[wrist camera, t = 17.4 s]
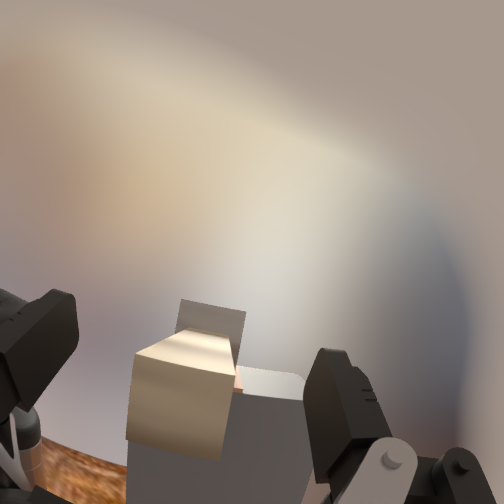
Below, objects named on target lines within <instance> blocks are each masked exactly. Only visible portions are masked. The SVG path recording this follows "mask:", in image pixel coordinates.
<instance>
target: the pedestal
mask: <svg viewBox="0 0 504 504" xmlns="http://www.w3.org/2000/svg"><path fill="white" fill-rule="evenodd" d="M235 374H236V377H235V382H234V387H233V393H232V398H231V404H230V409H229V414H228V420H227V425H226V430H225V435H224V441H223V446H222V451H221V457H220V461H215V460H209V459H203V458H198V457H192V456H187V455H182V454H178V453H173V452H169V451H165V450H161V449H157V448H153V447H149V446H146V445H142V444H139V443H135V442H132V441H129V440H128V457H127V482H126V504H301V502H302V499H303V496H304V493H305V490H306V488H307V485H308V481H309V478H310V475H311V472H312V469H313V460H312V454H311V447H310V441H309V435H308V428H307V422H306V416H305V410H304V404H303V390H304V386H305V383H306V381H304V380H303V379H302V378H301V377H300V376H298V375H297V374H294V373H286V372H277V371H270V370H263V369H256V368H250V367H243V366H238V365H236V370H235Z"/></svg>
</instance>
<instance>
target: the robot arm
mask: <svg viewBox="0 0 504 504" xmlns="http://www.w3.org/2000/svg"><path fill="white" fill-rule="evenodd" d="M78 340H79V329H78V321H77V312H76V302H75V298H74V296H73V295H72V294H69V293H66V292H63V291H60V290H57V289H52V290H50V291H49V292H48V293H46V294H45V295H44V296H43V297H41V298H40V299H37V300H35V301H32V302H30V303H29V302H27V301H25V300H23V299H21V298H19V297H17V296H15V295H13V294H11V293H9V292H7V291H5V290H3V289H0V504H73V503H71V502H68V501H66V500H64V499H62V498H60V497H58V496H56V495H54V494H52V493H50V492H49V491H47V486H46V479H45V472H44V465H43V456H42V444H41V430H40V420H39V417H38V414H37V412H36V410H35V409H34V407H33V405H34V404H35V403H36V401H37V400H38V398H39V397H40V396H41V394H42V393H43V391H44V390H45V389H46V387H47V386H48V385H49V383H50V382H51V381H52V379H53V378H54V377H55V375H56V374H57V373H58V371H59V370H60V368H61V367H62V366H63V365H64V363H65V362H66V361H67V360H68V358H69V357H70V356H71V355H72V353H73V352H74V351H75V349H76V347H77V344H78ZM303 404H304V410H305V416H306V422H307V428H308V435H309V441H310V447H311V454H312V460H313V467H314V473H315V480H316V484H319V483H320V484H322V483H329V484H330V489H331V491H330V492H329V493H328V494H327V495H326V497H325V498H324V500H323V501H322V502H321V504H496V501H495V499H494V496H493V494H492V491H491V489H490V486H489V484H488V482H487V480H486V477H485V475H484V473H483V471H482V468H481V466H480V464H479V462H478V460H477V458H476V457H475V456H474V455H473V454H472V453H471V452H470V451H468V450H466V449H464V448H459V447H457V448H452V449H450V450H448V451H447V452H446V453H445V454H444V455H443V456H442V457H441V458H440V459H435V458H427V457H419V456H416V453H415V452H414V450H413V449H412V448H411V447H410V446H409V445H408V444H407V443H406V442H404V441H402V440H400V439H397V438H393V437H392V434H391V432H390V429H389V427H388V424H387V422H386V419H385V417H384V415H383V412H382V410H381V407H380V405H379V403H378V402H377V398H376V396H375V393H374V392H373V389H372V386H371V384H370V382H369V379H368V378H367V376H366V375H365V374H364V373H363V372H362V371H361V370H360V369H359V368H358V367H352V365H351V363H350V360H349V358H348V355H347V353H346V352H345V351H344V350H336V349H327V348H321V349H320V350H319V352H318V354H317V356H316V359H315V361H314V364H313V366H312V368H311V371H310V374H309V376H308V378H307V380H306V383H305V386H304V390H303Z"/></svg>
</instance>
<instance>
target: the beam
mask: <svg viewBox="0 0 504 504" xmlns="http://www.w3.org/2000/svg"><path fill="white" fill-rule="evenodd" d="M245 315H246V312H245V311H239V310H234V309H228V308H223V307H218V306H213V305H208V304H203V303H198V302H193V301H189V300H184V299H181V303H180V308H179V313H178V319H177V324H176V330H175V335H173V336H171V337H169V338H167V339H164V340H163V341H160V342H159V343H156V344H154V345H152V346H150V347H148V348H146V349H143V350H141V351H139V352H137V353H135V357H134V364H133V371H132V380H131V387H130V397H129V406H128V416H127V428H126V440H129V441H132V442H135V443H139V444H142V445H146V446H149V447H153V448H157V449H161V450H165V451H169V452H173V453H178V454H182V455H187V456H192V457H198V458H203V459H209V460H215V461H220V457H221V451H222V446H223V441H224V435H225V430H226V425H227V420H228V414H229V409H230V404H231V398H232V393H233V387H234V382H235V377H236V374H235V370H236V365H237V359H238V354H239V349H240V343H241V337H242V332H243V327H244V321H245Z"/></svg>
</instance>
